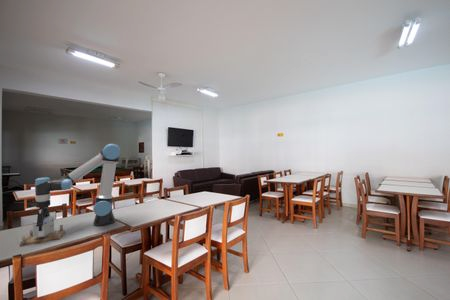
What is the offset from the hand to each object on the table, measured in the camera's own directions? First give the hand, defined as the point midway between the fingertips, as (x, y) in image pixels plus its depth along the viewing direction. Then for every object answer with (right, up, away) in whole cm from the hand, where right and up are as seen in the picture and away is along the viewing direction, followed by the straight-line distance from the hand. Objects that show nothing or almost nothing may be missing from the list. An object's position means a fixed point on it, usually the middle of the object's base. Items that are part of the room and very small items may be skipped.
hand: (44, 232), depth 140 cm
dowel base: (0, -4, 0) cm, 4 cm away
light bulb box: (0, -2, 0) cm, 2 cm away
